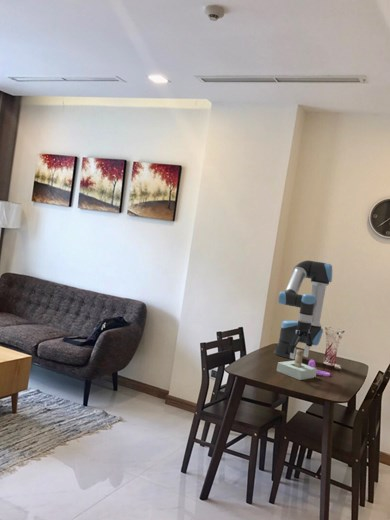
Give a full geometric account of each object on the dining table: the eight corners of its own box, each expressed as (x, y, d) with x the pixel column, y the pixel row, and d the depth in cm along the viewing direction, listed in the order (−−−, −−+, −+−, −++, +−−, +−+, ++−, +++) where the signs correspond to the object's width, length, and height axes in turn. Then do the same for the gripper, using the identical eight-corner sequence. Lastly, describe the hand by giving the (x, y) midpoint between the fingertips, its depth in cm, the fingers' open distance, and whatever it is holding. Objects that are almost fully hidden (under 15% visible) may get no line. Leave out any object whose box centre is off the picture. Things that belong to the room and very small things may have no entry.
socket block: (292, 368, 286) (294, 360, 286) (315, 377, 275) (317, 368, 274) (276, 370, 275) (277, 362, 275) (299, 380, 264) (301, 371, 263)
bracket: (307, 372, 283) (309, 361, 283) (307, 370, 289) (309, 359, 288) (330, 377, 281) (332, 365, 280) (329, 374, 286) (331, 363, 286)
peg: (295, 372, 278) (299, 349, 277) (300, 374, 275) (305, 351, 274) (291, 373, 275) (295, 349, 274) (296, 375, 272) (300, 351, 272)
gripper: (311, 319, 285) (305, 354, 286) (286, 320, 268) (280, 357, 269) (322, 322, 279) (316, 357, 281) (297, 323, 262) (291, 361, 264)
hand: (298, 357), depth 275 cm, fingers open, 13 cm apart
